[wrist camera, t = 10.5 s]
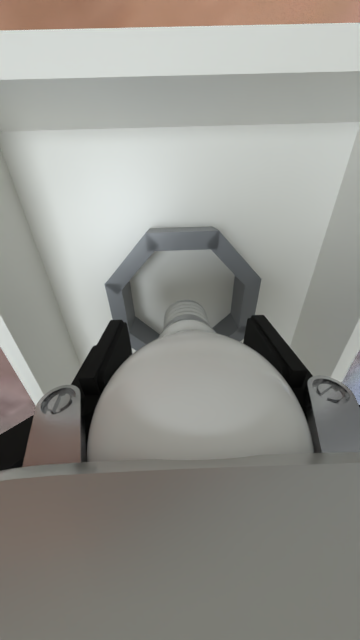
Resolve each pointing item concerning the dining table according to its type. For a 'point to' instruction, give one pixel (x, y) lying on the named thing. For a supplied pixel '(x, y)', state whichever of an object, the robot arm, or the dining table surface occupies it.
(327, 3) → the dining table surface
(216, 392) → the lightbulb
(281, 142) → the socket box
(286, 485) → the robot arm
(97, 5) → the dining table surface
